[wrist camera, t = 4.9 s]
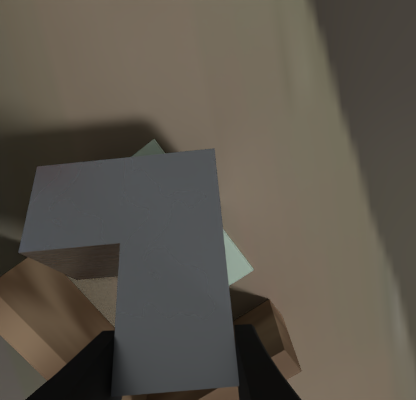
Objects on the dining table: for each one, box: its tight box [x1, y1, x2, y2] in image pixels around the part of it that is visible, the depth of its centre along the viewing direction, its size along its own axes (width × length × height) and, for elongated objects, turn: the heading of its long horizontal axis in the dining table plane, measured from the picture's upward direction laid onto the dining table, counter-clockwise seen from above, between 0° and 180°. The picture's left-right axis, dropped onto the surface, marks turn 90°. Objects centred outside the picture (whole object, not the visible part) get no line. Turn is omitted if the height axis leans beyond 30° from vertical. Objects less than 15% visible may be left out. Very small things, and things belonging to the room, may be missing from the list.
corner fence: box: [0, 257, 301, 400], centre depth 17 cm, size 13×11×4 cm
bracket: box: [18, 149, 239, 397], centre depth 14 cm, size 9×8×5 cm
